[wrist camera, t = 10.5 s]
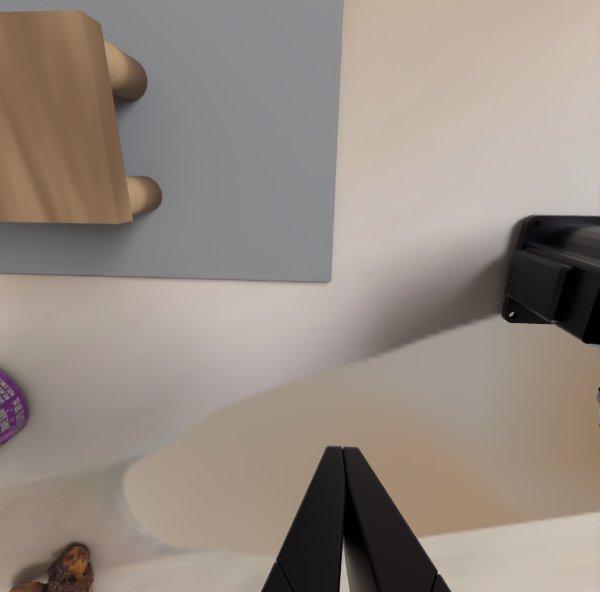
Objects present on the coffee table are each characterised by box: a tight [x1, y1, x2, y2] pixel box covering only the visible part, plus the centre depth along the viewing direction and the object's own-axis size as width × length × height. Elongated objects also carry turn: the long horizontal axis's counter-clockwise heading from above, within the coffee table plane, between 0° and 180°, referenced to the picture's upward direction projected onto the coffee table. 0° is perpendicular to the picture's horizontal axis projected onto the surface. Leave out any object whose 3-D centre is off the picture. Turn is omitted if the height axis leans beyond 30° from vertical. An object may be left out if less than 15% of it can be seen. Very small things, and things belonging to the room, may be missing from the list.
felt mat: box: [0, 0, 343, 282], centre depth 18 cm, size 24×16×1 cm, turn 89°
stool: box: [0, 10, 162, 224], centre depth 16 cm, size 5×8×8 cm
